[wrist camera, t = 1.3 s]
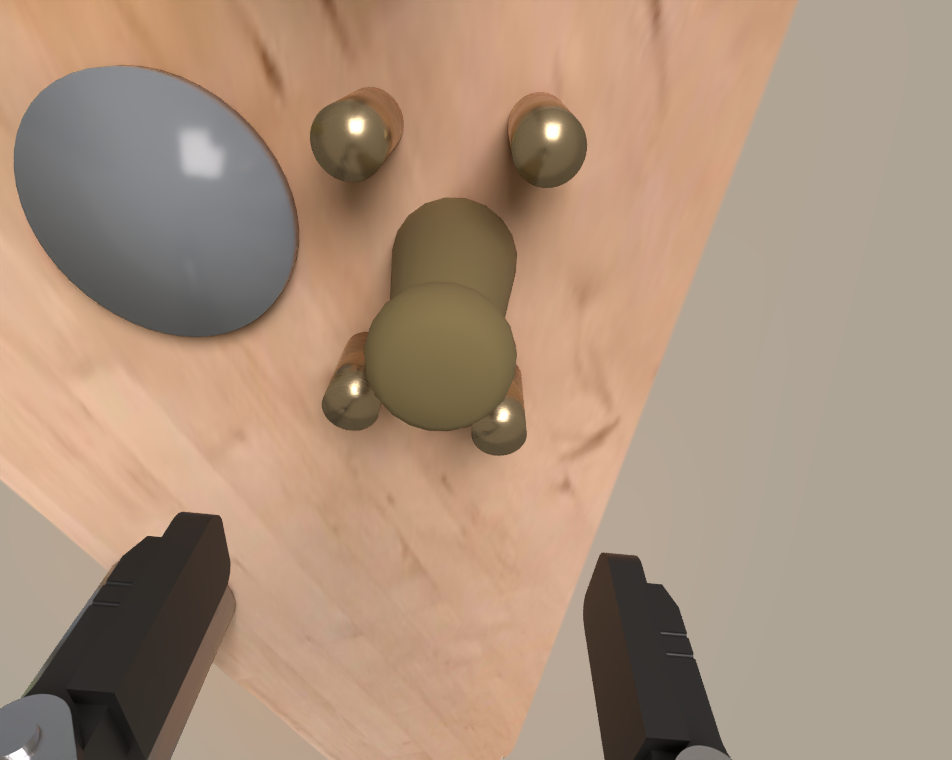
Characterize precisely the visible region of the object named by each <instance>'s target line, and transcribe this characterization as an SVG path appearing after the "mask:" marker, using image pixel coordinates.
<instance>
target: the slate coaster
mask: <svg viewBox="0 0 952 760" xmlns="http://www.w3.org/2000/svg"><path fill="white" fill-rule="evenodd" d="M14 173H15V181H16V187H17V191H18V195H19V198H20V202H21V205H22V208H23V210H24V213H25V215H26V218H27V220H28V222H29V224H30V226H31V228H32V230H33V232H34V234H35V236H36V238H37V239H38V241H39V242H40V244H41V245H42V247H43V248H44V250H45V251H46V253H47V254H48V256H49V257H50V258H51V259H52V261H53V262H54V263H55V264H56V266H57V267H58V268H59V269H60V270H61V271H62V272H63V273H64V274H65V275H66V277H67V278H68V279H69V280H70V281H71V282H72V283H73V284H75V285H76V286H77V287H78V288H79V289H80V290H81V291H83V292H84V293H85V294H86V295H87V296H89V297H90V298H91V299H93V300H94V301H96V302H97V303H98V304H100V305H101V306H103V307H104V308H106V309H108V310H109V311H111V312H112V313H114V314H116V315H118V316H120V317H122V318H124V319H126V320H128V321H130V322H132V323H134V324H137V325H140V326H142V327H145V328H148V329H151V330H154V331H158V332H162V333H165V334H171V335H178V336H189V337H203V336H214V335H219V334H224V333H228V332H231V331H234V330H237V329H239V328H241V327H243V326H245V325H247V324H249V323H251V322H253V321H254V320H255V319H257V318H258V317H259V316H261V315H262V314H263V313H264V312H265V311H266V310H267V309H268V308H269V307H270V306H271V305H272V304H273V303H274V301H275V300H276V299H277V297H278V296H279V295H280V293H281V292H282V291H283V289H284V288H285V286H286V285H287V283H288V281H289V279H290V277H291V274H292V272H293V269H294V266H295V262H296V259H297V253H298V246H299V225H298V217H297V211H296V207H295V203H294V199H293V195H292V192H291V189H290V187H289V184H288V182H287V179H286V177H285V175H284V173H283V171H282V169H281V167H280V165H279V163H278V161H277V159H276V158H275V156H274V155H273V153H272V152H271V150H270V149H269V147H268V146H267V144H266V143H265V142H264V140H263V139H262V138H261V137H260V135H259V134H258V133H257V132H256V131H255V129H254V128H253V127H252V126H251V125H250V124H249V123H248V122H247V121H246V120H245V119H244V118H243V117H242V116H241V115H240V114H239V113H238V112H237V111H236V110H234V109H233V108H232V107H230V106H229V105H228V104H227V103H225V102H224V101H223V100H222V99H220V98H219V97H217V96H216V95H214V94H213V93H211V92H209V91H208V90H206V89H205V88H203V87H201V86H200V85H197V84H195V83H193V82H191V81H189V80H187V79H185V78H183V77H181V76H178V75H175V74H172V73H169V72H166V71H163V70H159V69H154V68H149V67H144V66H131V65H117V66H106V67H97V68H89V69H85V70H82V71H78V72H74V73H71V74H69V75H67V76H65V77H62V78H60V79H58V80H56V81H55V82H53V83H52V84H51V85H49V86H48V87H47V88H45V89H44V90H43V91H42V92H41V93H40V94H39V95H38V96H37V97H36V98H35V99H34V100H33V102H32V103H31V104H30V106H29V107H28V109H27V111H26V113H25V114H24V116H23V118H22V121H21V123H20V126H19V129H18V132H17V136H16V142H15V147H14Z"/></svg>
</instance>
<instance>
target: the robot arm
mask: <svg viewBox="0 0 952 760" xmlns="http://www.w3.org/2000/svg"><path fill="white" fill-rule="evenodd" d="M229 575H230V558H229V553H228V548H227V543H226V538H225V533H224V528H223V522H222V519H221V517H220V516H219V515H211V514H201V513H190V512H180V513H178V514H177V515H176V516H175V517H174V519H173V520H172V522H171V523H170V525H169V527H168V528H167V530H166V531H165V533H164V534H163V536H162V537H154V536H147V537H146V538H144V539H143V540H142V541H141V542H140V543H138V544H137V545H136V546H135V547H133V548H132V549H131V550H130V551H128V552H127V553H126V554H125V555H123V556H122V558H121V559H120V561H119V562H117V563H116V564H115V565H113V566H112V568H111V569H110V571H109V572H108V573H107V575H106V576H105V578H104V579H103V581H102V582H101V583H100V585H99V586H98V588H97V589H96V591H95V592H94V593H93V595H92V596H91V598H90V599H89V601H88V602H87V603H86V605H85V606H84V608H83V609H82V611H81V612H80V613H79V615H78V616H77V618H76V619H75V620H74V622H73V623H72V625H71V626H70V628H69V629H68V630H67V632H66V633H65V635H64V636H63V638H62V639H61V641H60V642H59V643H58V645H57V646H56V648H55V649H54V651H53V652H52V654H51V655H50V656H49V658H48V659H47V661H46V662H45V664H44V665H43V667H42V668H41V669H40V671H39V673H38V674H37V675H36V677H35V678H34V680H33V681H32V682H31V684H30V685H29V687H28V688H27V690H26V691H25V693H24V694H23V695H22V697H21V698H20V699H18V700H16V701H13V702H11V703H9V704H7V705H5V706H4V707H2V708H1V709H0V760H170V759H171V756H172V755H173V752H174V750H175V748H176V745H177V743H178V741H179V738H180V736H181V734H182V731H183V729H184V727H185V724H186V722H187V719H188V717H189V715H190V713H191V710H192V708H193V706H194V703H195V701H196V699H197V697H198V694H199V692H200V690H201V687H202V685H203V683H204V680H205V678H206V676H207V673H208V671H209V669H210V666H211V664H212V662H213V660H214V657H215V655H216V653H217V650H218V648H219V646H220V643H221V641H222V639H223V636H224V634H225V632H226V629H227V627H228V625H229V622H230V620H231V618H232V615H233V613H234V611H235V601H234V597H233V594H232V592H231V591H230V589H229V587H228V586H227V584H228V580H229ZM583 608H584V609H583V621H584V629H585V636H586V642H587V649H588V655H589V662H590V668H591V674H592V681H593V686H594V694H595V700H596V707H597V713H598V720H599V726H600V732H601V739H602V746H603V752H604V758H605V760H732V759H731V758H730V756H729V755H728V753H727V751H726V749H725V747H724V746H723V743H722V741H721V738H720V735H719V732H718V729H717V726H716V722H715V719H714V716H713V713H712V710H711V707H710V704H709V701H708V698H707V694H706V691H705V688H704V685H703V682H702V679H701V676H700V672H699V669H698V666H697V663H696V660H695V659H694V658H693V651H692V647H691V644H690V641H689V639H688V638H687V636H686V634H687V632H686V629H685V626H684V622H683V619H682V616H681V614H680V610H679V607H678V606H677V605H676V603H675V602H674V600H673V599H672V598H671V596H670V595H669V593H668V592H667V591H666V590H665V588H664V587H663V585H661V584H651V583H647V581H646V578H645V574H644V571H643V567H642V564H641V561H640V559H639V558H638V557H637V556H634V555H623V554H613V553H601V554H600V556H599V558H598V561H597V564H596V567H595V569H594V572H593V575H592V578H591V581H590V583H589V586H588V589H587V592H586V595H585V599H584V607H583Z"/></svg>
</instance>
